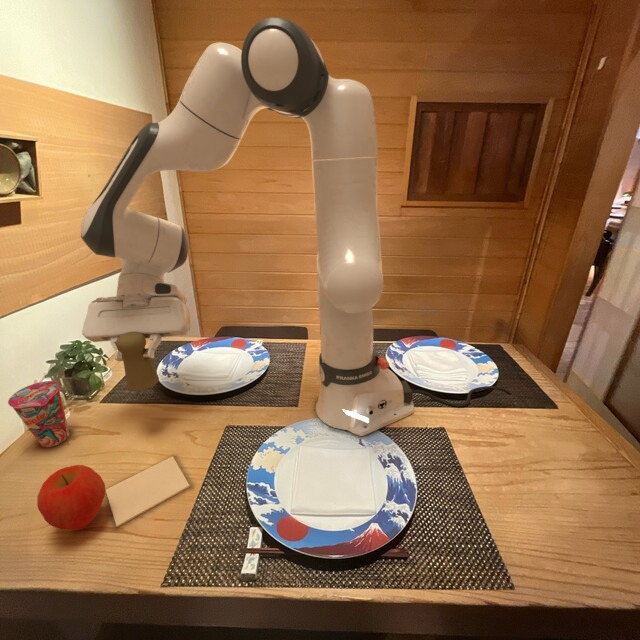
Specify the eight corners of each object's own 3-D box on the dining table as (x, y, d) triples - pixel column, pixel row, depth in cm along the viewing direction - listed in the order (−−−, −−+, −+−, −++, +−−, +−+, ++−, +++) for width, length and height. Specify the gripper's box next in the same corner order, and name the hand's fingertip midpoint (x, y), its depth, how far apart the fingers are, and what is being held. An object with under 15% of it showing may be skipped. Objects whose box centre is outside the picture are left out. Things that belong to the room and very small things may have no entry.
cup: (20, 450, 74) (-4, 403, 69) (56, 422, 81) (37, 378, 76) (56, 457, 72) (34, 409, 67) (90, 428, 79) (72, 383, 74)
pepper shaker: (146, 392, 70) (131, 343, 65) (120, 389, 71) (103, 341, 67) (165, 374, 75) (152, 328, 71) (140, 372, 77) (125, 327, 72)
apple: (123, 499, 62) (106, 453, 58) (96, 547, 55) (73, 499, 50) (75, 500, 63) (53, 454, 58) (41, 549, 55) (13, 500, 50)
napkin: (173, 457, 71) (172, 455, 71) (189, 486, 64) (189, 485, 64) (106, 491, 64) (105, 489, 64) (117, 527, 58) (116, 526, 57)
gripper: (80, 292, 72) (70, 359, 67) (184, 285, 72) (180, 351, 68) (98, 304, 77) (89, 366, 73) (193, 297, 78) (191, 359, 74)
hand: (134, 359), depth 70 cm, fingers closed on pepper shaker, 4 cm apart
